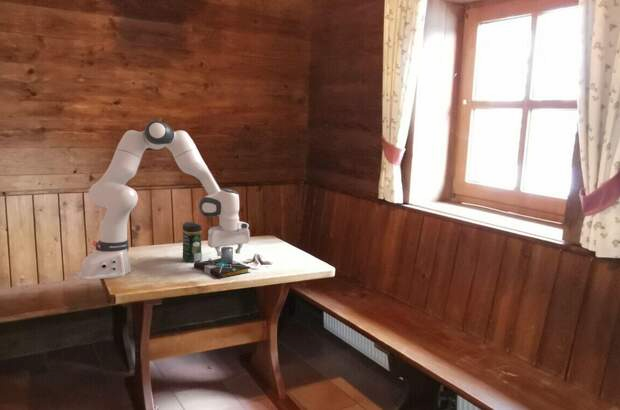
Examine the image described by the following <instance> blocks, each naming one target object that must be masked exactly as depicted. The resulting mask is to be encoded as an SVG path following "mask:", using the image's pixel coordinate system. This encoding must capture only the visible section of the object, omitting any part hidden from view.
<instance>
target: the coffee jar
mask: <svg viewBox="0 0 620 410" xmlns="http://www.w3.org/2000/svg"><path fill="white" fill-rule="evenodd" d="M202 231H203V228H202V225H201V224H198V223H197V222H193V221H187V222H186V221H185V222H184V223H183V224H182V260H184V261H185V262H188V263H194V262H201V261H203V260H202V257H203V256H202V233H203V232H202Z"/></svg>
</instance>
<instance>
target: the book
mask: <svg viewBox="0 0 620 410" xmlns="http://www.w3.org/2000/svg"><path fill="white" fill-rule="evenodd" d="M239 262H240V261H236V260H234V259H233V262H232V263H224V262H223V261H221V257H220V258H215V259H211V258H209V259H208V260H204V261H203V260H201V261H198V262H193V268H194V269H197V270H199V271H203V272H204V273H205V274H208V275H211V276H213V277H215V278H218V280H221V279H225V278H226V279H227V278H231V277H234V276H235V277H236V276H239V275H245V274H250V273H251V271H249V269H248V268H250V266H246V264H244V263H242V264H240V263H239Z"/></svg>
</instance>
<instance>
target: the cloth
mask: <svg viewBox="0 0 620 410" xmlns="http://www.w3.org/2000/svg"><path fill="white" fill-rule="evenodd" d="M238 262H239V263H240V264H243V265H245V266H250V268H248V270H256V269H257V271H260V270H259V269H262V270H263V268H262V266H261V265H271V266H273V265H272V264H274V263H276V262H277V261H275V260H273V259H268V257H265V256H264V257H263V255H262V254H261V252H259V251H258V252H255V253H254V256H253V257H252V258H250V257H244V258H242V259H241V260H240V261H238ZM276 264H277V263H276ZM274 265H275V264H274ZM271 266H266V267H265V268H272V267H271Z"/></svg>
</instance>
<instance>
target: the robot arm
mask: <svg viewBox="0 0 620 410" xmlns="http://www.w3.org/2000/svg"><path fill="white" fill-rule="evenodd" d="M165 148H166V149H168V150H169V151H170V153H172V154H171V155H172V157H173V158H174V160H175V163H176V165H177V166H178V168H179V170H181V171H182V172H183V173H184V174H187V175H190V176H193V177H195V178H196V179H198V181H200V183H201V185H202V186H203V188H204V190H205V192H206V193H207V195H206V196H204V197H202V198H201V199H200V200H199V203H198V210H199V212H200V214H202V215H203V216H205V217H209V218H211V217H218V218H219V219H218V220H219V223H218V224H219V225H218V226H217V225H216V226H210V228H209V229H208V231H207V234H208V237H207V246H208V247H210V248H212V249H213V248H214V249H215V251H216V256H217V257H221V256H222V252H221V247H230V246H235V245H236V246H237V248H236V249H235V254H236V255H237V254H238V255H239V254H241V249H243V245H244V244H249V242H250V240H251V237H250V236H251V233H250V229H249V227H250V225H249V223H247V222H245V221H242V220H240V216H239V212H240V196H239V193H238V192H237V191H236V190H234V189H232V188H222V189H221V187H220V185H219V184H218V182H217V180H216V179H215V177H214V175H213V174H212V172H211V170H210V169H209V166H208V165H207V164H206V163H205V161H204V159H203V157H202V156H201V153H200V152H199V150H198V148H197V146H196V144H195V142H194V140H193V139H192V138H191V136H190V134H189V133H188V132H187V131H185V130H183V129H182V130H176V131H175V130H174V129H173V128H172V127H171V126H169V125H168V124H166V122H163V121H161V120H159V119H156V120H155V119H154V120H152V121H150V122H148V123H147V124H146V125H145V127H144V130H142V131H137V130H135V129H130V130H127V131H126V132H125V133H124V134H123V136H122V138H121V139H120V141H119V143H118V144H117V147H116V149H115V152H114V154H113V157H112V158H111V159H112V160H111V162H110V163H109V166H108V168H106V169H107V170H106V171H105V172H104V173H103V175H102V177H100V178H99V180H98V181H96V182H95V183H94V184H92V185H91V186H90V187H89V189H88V198H89V201H91V203H93V204H95V205H96V206H99V207H100V208H101V207H102V208H105V209H106V211H105V215H104V218H103V219H101V221H100V223H99V240H98V241H96V240H93V241H92V242H91V244H92V246H93V247H95V249H94V250H93V251H92V252H91V253H90V254H88V255H87V256H85V257H84V259H83V260H82V262H81V269H77V270H76V272H75V275H76V277H78V278H79V279H81V280H85V281H88V280H89V281H91V280H92V281H93V280H101V279H111V278H122V277H125V276H126V275H128V274H130V273H131V272H132V267H131V264H130V263H131V262H130V258H129V250H130V249H129V248H130V247H129V239H128V221H129V217H130V214H131V212H132V210H133V209H135V207H136V206H137V204H138V200H139V196H138V193H137V191H136V190H135V189H134V188H132V187H130V186H128V185H126V184H127V183H128V181H129V180H131V179H133V178H134V177H135V176H136V174H137V171H138V170H139V169H138V168H139V166H140V163H141V161H142V158H143V156H144V153H145V151H153V152H154V151H155V152H156V151H157V152H158V151H162V150H164V149H165Z"/></svg>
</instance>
